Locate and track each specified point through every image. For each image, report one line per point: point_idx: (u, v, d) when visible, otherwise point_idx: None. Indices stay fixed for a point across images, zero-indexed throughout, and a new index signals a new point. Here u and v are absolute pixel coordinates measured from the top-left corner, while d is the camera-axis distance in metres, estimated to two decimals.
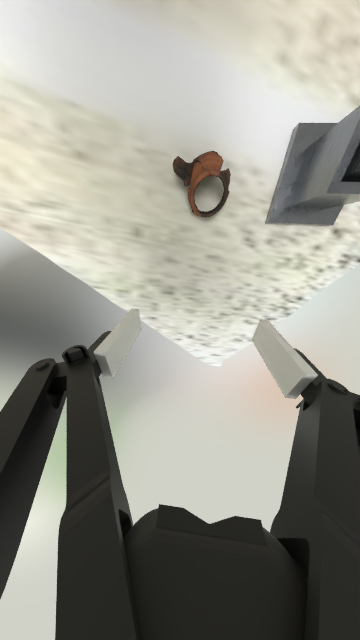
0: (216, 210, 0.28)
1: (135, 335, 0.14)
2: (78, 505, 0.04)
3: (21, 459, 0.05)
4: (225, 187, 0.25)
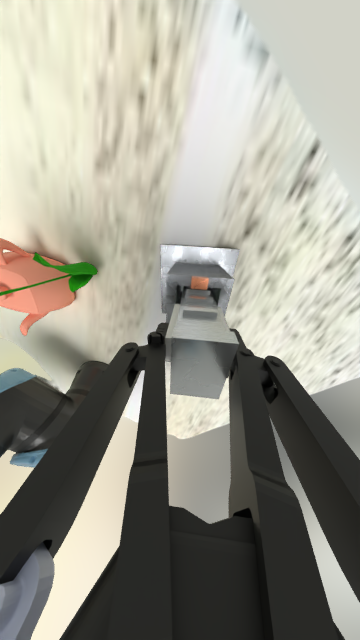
0: None
1: None
2: (143, 467, 0.04)
3: (103, 423, 0.06)
4: None
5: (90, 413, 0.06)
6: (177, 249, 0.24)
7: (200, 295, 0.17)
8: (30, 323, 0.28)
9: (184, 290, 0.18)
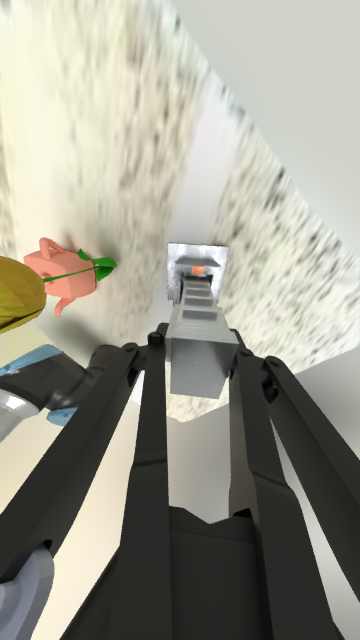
0: None
1: None
2: (143, 467, 0.04)
3: (103, 423, 0.06)
4: None
5: (90, 413, 0.06)
6: (181, 247, 0.31)
7: (200, 295, 0.17)
8: (62, 306, 0.34)
9: (184, 290, 0.18)
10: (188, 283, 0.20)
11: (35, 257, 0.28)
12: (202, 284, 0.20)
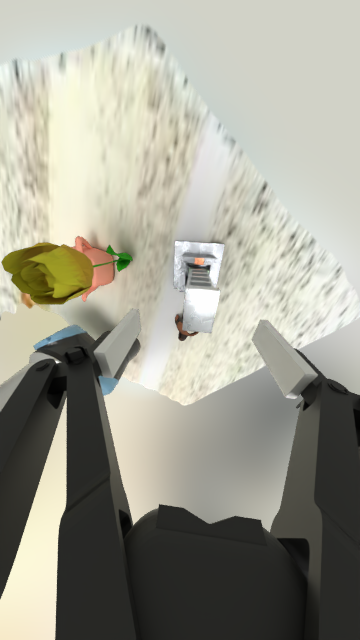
0: None
1: (135, 335, 0.14)
2: (79, 505, 0.04)
3: (21, 459, 0.05)
4: None
5: None
6: (185, 244, 0.38)
7: None
8: (88, 293, 0.42)
9: (189, 274, 0.26)
10: (192, 270, 0.27)
11: None
12: (202, 270, 0.27)
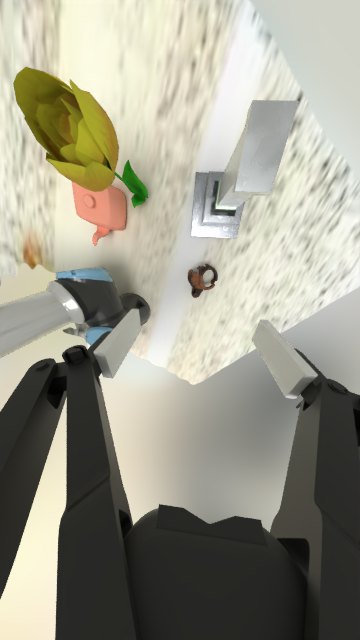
0: (215, 271, 0.44)
1: (135, 335, 0.14)
2: (78, 505, 0.04)
3: (21, 459, 0.05)
4: (206, 270, 0.43)
5: None
6: (207, 176, 0.35)
7: None
8: (99, 236, 0.38)
9: None
10: None
11: None
12: None
